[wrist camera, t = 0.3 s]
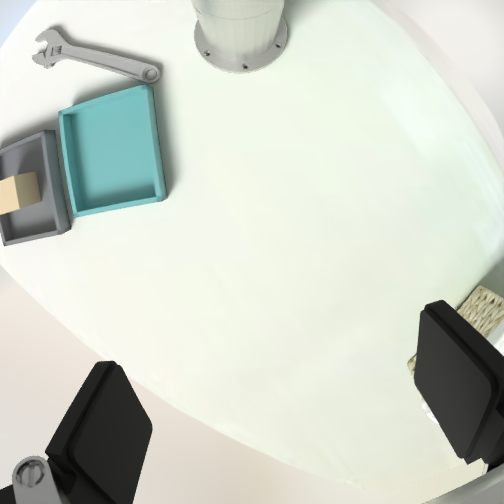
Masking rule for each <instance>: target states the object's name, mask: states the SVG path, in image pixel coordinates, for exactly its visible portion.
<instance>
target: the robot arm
mask: <svg viewBox="0 0 504 504" xmlns="http://www.w3.org/2000/svg"><path fill="white" fill-rule="evenodd" d="M191 2H192V4H193V7H194V9H195V12H196V15H197V17H198V21H197V23H196V26H195V30H194V39H195V44H196V47H197V49H198V51H199V53H200V54H201V56H202V57H203V58H204V59H205V60H206V61H207V62H208V63H209V64H211V65H212V66H213V67H215V68H218V69H220V70H222V71H226V72H230V73H250V72H254V71H258V70H260V69H263V68H265V67H267V66H268V65H270V64H271V63H273V62H274V61H275V60H276V59H277V58H278V57H279V55H280V54H281V52H282V51H283V49H284V47H285V44H286V40H287V26H286V23H285V20H284V18H283V16H282V15H281V14H282V11H283V7H284V4H285V0H191ZM276 46H280V48H277V47H276ZM207 54H210V55H209V56H206V55H207ZM245 66H247V69H244V67H245ZM414 382H415V385H416V387H417V389H418V390H419V392H420V394H421V395H422V397H423V398H424V400H425V402H426V403H427V405H428V407H429V408H430V410H431V412H432V413H433V415H434V417H435V418H436V420H437V422H438V423H439V425H440V427H441V428H442V430H443V432H444V433H445V435H446V437H447V439H448V440H449V442H450V444H451V446H452V447H453V449H454V451H455V453H456V454H457V456H458V457H459V458H461V459H462V458H464V460H465V461H466V463H467V464H470V463H472V462H474V461H476V460H478V459H480V458H482V460H483V461H484V463H485V465H484V469H483V472H482V476H480V477H478V478H477V479H475V480H473V481H471V482H469V483H467V484H465V485H463V486H461V487H459V488H456V489H454V490H452V491H450V492H448V493H446V494H444V495H441V496H439V497H437V498H435V499H432V500H430V501H427V502H425V503H422V504H504V356H503V355H502V354H501V353H500V352H499V351H498V350H497V349H496V348H495V347H494V346H493V345H492V344H491V343H490V342H489V341H488V340H487V339H486V338H485V337H484V336H483V335H481V334H480V333H479V332H478V331H477V330H476V329H475V328H474V327H473V326H472V325H471V324H470V323H469V322H468V321H466V320H465V319H464V318H463V317H462V316H461V315H460V314H459V313H458V312H456V311H455V310H454V309H453V308H452V307H451V306H450V305H449V304H447V303H446V302H445V301H444V300H439V301H436V302H433V303H429V304H427V305H426V306H425V308H424V310H422V311H421V313H420V323H419V335H418V345H417V355H416V363H415V371H414ZM151 434H152V423H151V421H150V419H149V417H148V415H147V414H146V412H145V410H144V408H143V407H142V405H141V403H140V401H139V399H138V397H137V396H136V394H135V392H134V390H133V388H132V386H131V384H130V382H129V380H128V378H127V376H126V374H125V372H124V370H123V368H122V367H121V366H120V365H117V363H116V362H115V361H101V362H97V363H96V364H95V365H94V367H93V369H92V370H91V372H90V373H89V375H88V377H87V378H86V380H85V382H84V383H83V385H82V387H81V388H80V390H79V392H78V393H77V395H76V397H75V399H74V400H73V402H72V404H71V406H70V407H69V409H68V411H67V412H66V414H65V416H64V417H63V419H62V421H61V423H60V425H59V426H58V428H57V430H56V432H55V434H54V435H53V437H52V439H51V441H50V443H49V445H48V446H47V448H46V450H45V453H46V454H47V455H48V457H49V458H48V460H47V461H46V460H45V459H44V458H42V457H40V456H30V457H27V458H25V459H23V460H22V461H20V463H18V464H17V466H16V467H15V469H14V471H13V474H12V482H13V484H12V485H9V486H7V487H5V488H3V489H1V490H0V504H133V500H134V496H135V492H136V488H137V485H138V481H139V477H140V474H141V470H142V466H143V462H144V459H145V455H146V451H147V448H148V445H149V441H150V437H151Z"/></svg>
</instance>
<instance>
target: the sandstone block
mask: <svg viewBox="0 0 504 504" xmlns="http://www.w3.org/2000/svg"><path fill="white" fill-rule="evenodd" d="M38 202H41V197H40V191H39V185H38V179H37V173H36V171H35V172H30V173H24V174H19V175H14V176H11V177H9V178H6V179H4V180H1V181H0V215H2V214H5V213H8V212H11V211H14V210H18V209H21V208H24V207H27V206H29V205H32V204H35V203H38Z"/></svg>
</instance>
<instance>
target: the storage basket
mask: <svg viewBox="0 0 504 504" xmlns="http://www.w3.org/2000/svg"><path fill="white" fill-rule="evenodd" d="M457 312H458V313H459V314H460V315H461V316H462V317H463V318H464V319H465V320H466V321H468V322H469V323H470V324H471V325H472V326H473V327H474V328H475V329H476V330H477V331H478V332H479V333H480V334H481V335H483V336H484V337H485V338H486V339H487V340H488V341H489V342H490V343H491V344H492V345H493V346H494V347H495V348H496V349H497V350H498V351H499V352H500V353H501V354H502V355H503V356H504V298H502V297H500V296H499V295H497V294H496V293H494V292H493V291H491V290H489V289H486V288H485V287H483V286H481V285H479V286H478V287H477V288H476V289H475V290H474V291H473V292H472V294H471V295H470V296H469V298H468V299H467V300H466V301H465V302H464V303H463V305H462V306H461V307H460V309H459V310H458V311H457ZM416 355H417V354H416ZM415 363H416V356H415V357H414V358H413V359H412V360H411V361H409V363H408V364H407V368H408V369H409V372H410V373H411V376H412V379H413V381H414V371H415ZM414 383H415V382H414ZM417 390H418V389H417ZM418 391H419V390H418ZM419 394H420V392H419ZM420 397H421V400H422V406H423V408H424V410H425V411H426V413H427V415H428V416H429V417H430V418H431V419H432V420H433V421H435V422H436V423H438V422H437V420H436V418H435V417H434V415H433V413H432V412H431V410H430V408H429V407H428V405H427V403H426V402H425V400H424V398H423V397H422V395H421V394H420ZM438 424H439V423H438Z"/></svg>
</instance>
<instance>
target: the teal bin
mask: <svg viewBox="0 0 504 504" xmlns="http://www.w3.org/2000/svg"><path fill="white" fill-rule="evenodd" d="M59 123H60V133H61V142H62V150H63V157H64V164H65V171H66V177H67V183H68V189H69V194H70V200H71V205H72V210H73V215H74V218H76V217H81V216H86V215H90V214H95V213H100V212H105V211H111V210H116V209H121V208H126V207H132V206H137V205H143V204H149V203H155V202H160V201H163V200H165V199H167V198H168V197H167V191H166V185H165V179H164V172H163V166H162V159H161V152H160V145H159V138H158V130H157V122H156V114H155V105H154V96H153V88H152V87H150V86H149V85H147V84H144V85H140V86H136V87H132V88H129V89H125V90H121V91H118V92H115V93H111V94H108V95H105V96H101V97H98V98H95V99H92V100H89V101H86V102H83V103H80V104H78V105H75V106H72V107H69V108H67V109H64V110H61V111H59Z"/></svg>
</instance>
